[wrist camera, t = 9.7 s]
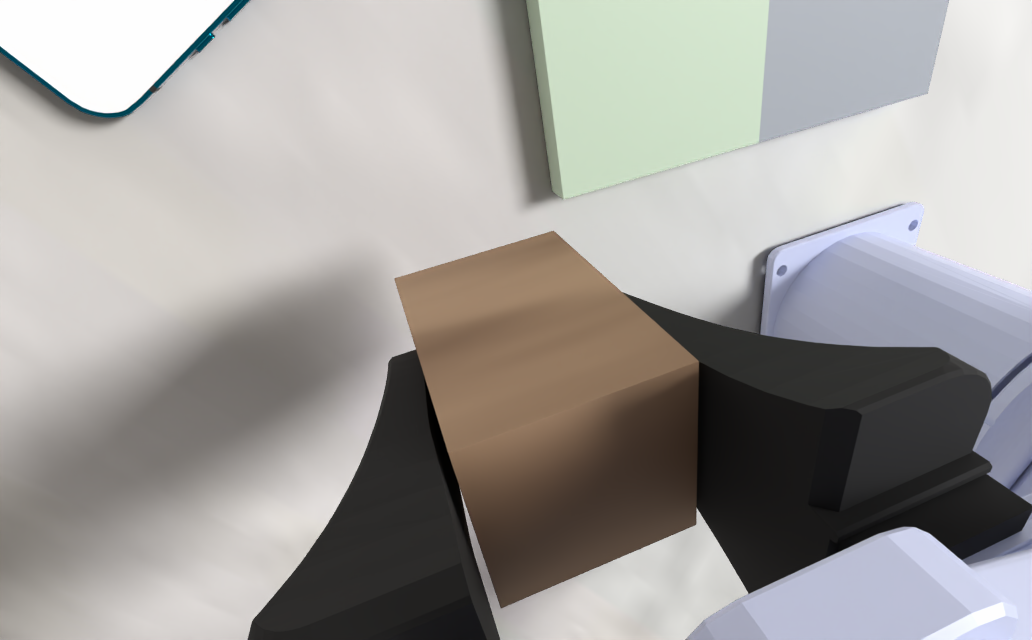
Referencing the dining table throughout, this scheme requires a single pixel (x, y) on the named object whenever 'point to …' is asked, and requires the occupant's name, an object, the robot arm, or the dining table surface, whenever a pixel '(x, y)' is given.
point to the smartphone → (108, 46)
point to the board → (713, 76)
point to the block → (555, 410)
